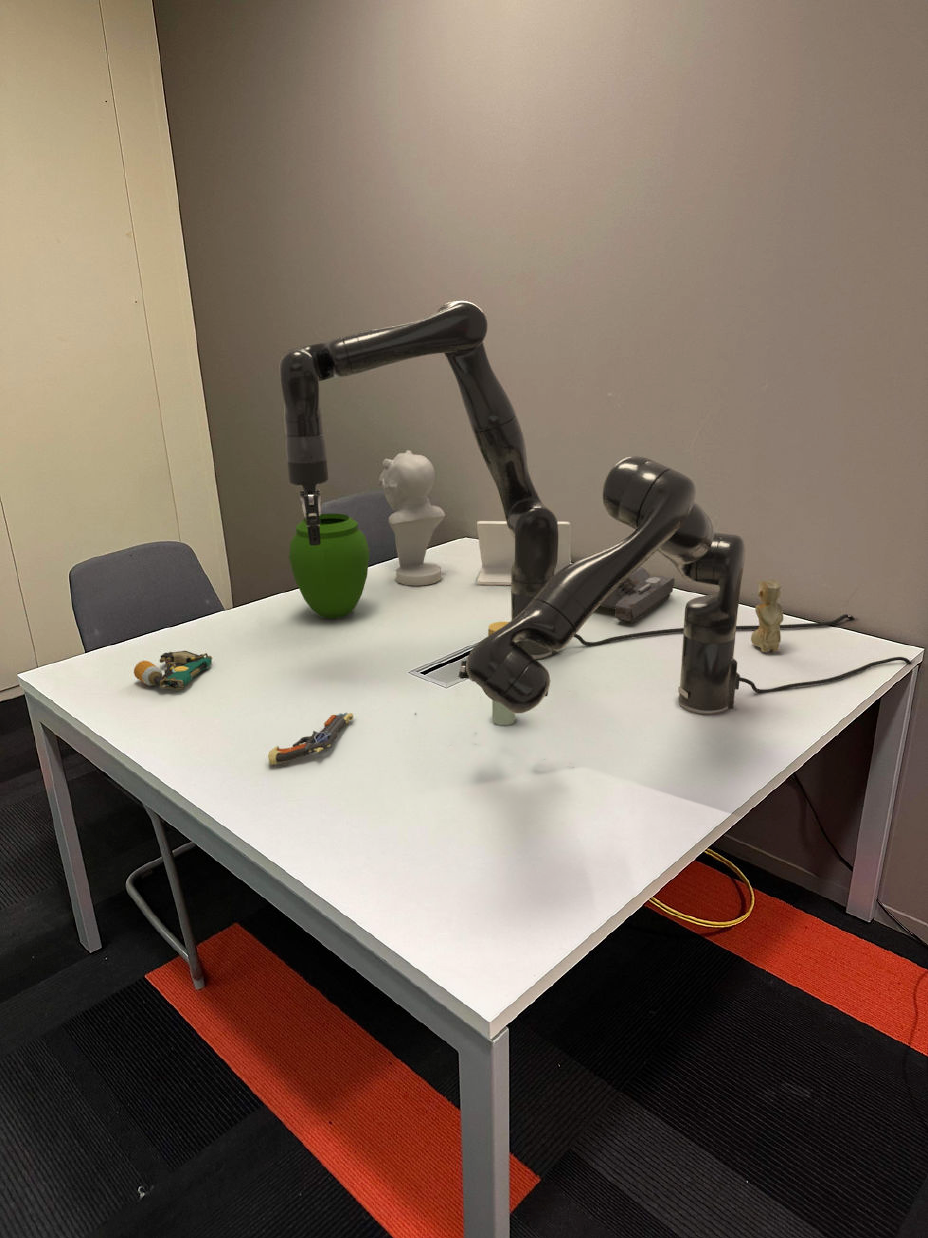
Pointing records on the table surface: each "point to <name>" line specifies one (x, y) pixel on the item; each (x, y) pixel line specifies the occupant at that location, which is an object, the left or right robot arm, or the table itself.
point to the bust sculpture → (412, 515)
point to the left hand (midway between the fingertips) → (314, 539)
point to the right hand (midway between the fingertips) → (503, 680)
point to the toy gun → (312, 740)
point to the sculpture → (768, 617)
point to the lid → (496, 627)
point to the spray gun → (172, 669)
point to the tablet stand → (510, 551)
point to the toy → (638, 595)
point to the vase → (330, 565)
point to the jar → (502, 714)
